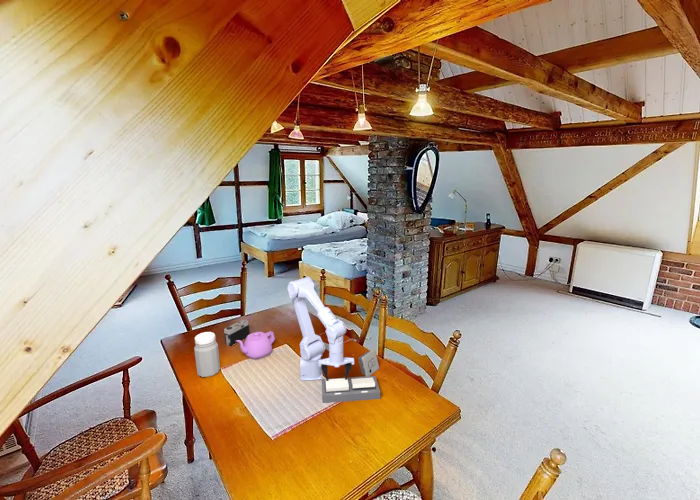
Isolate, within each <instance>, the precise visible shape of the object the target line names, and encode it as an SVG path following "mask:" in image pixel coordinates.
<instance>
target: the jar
mask: <svg viewBox="0 0 700 500" xmlns="http://www.w3.org/2000/svg"><path fill="white" fill-rule="evenodd" d="M194 344H195V346H194V347H193V350H194V359H195V367H196V374H197V376H198V377H200V376H201V378H203V377H208V378H210V377H209V376H212V377H214V376H216V375H217V374H218V373H219V371H220V370H221V363H220V352H219V344H218V342H217V340H216V334H215V333H214V332H212V331H204V332H200V333H199V334H197V335H195V337H194ZM216 373H217V374H216ZM215 374H216V375H215ZM213 375H214V376H213Z"/></svg>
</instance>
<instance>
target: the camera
mask: <svg viewBox="0 0 700 500" xmlns="http://www.w3.org/2000/svg"><path fill="white" fill-rule="evenodd" d="M249 334H251V333H250V324H249V320H247V319H241V320H238V321H237V322H235V323H233V324H231V325H229V326H227V327H224V334H223V335H224V342H225V343H224V344H226V345H229V346H232V345H233V344H235V343H237V341H236V340H242V341H243V339H244V340H246V337H247V336H248V335H249ZM237 344H238V343H237ZM226 345H225V346H226ZM235 345H236V344H235ZM233 346H234V345H233ZM233 346H232V347H233Z"/></svg>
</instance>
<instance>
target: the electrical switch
mask: <svg viewBox="0 0 700 500" xmlns="http://www.w3.org/2000/svg"><path fill="white" fill-rule="evenodd" d="M357 359H358V363H359V368H360V372H361V375H364V376H365V377H366V376H373V374H374V373H375V372H377V371H378V370H379V369H380V365H379V360H378V356H377V351H376V350H375V349H372V350H368V351H366V352H365V353H363V354H362V355H360V356H359V357H358V358H357Z"/></svg>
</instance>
